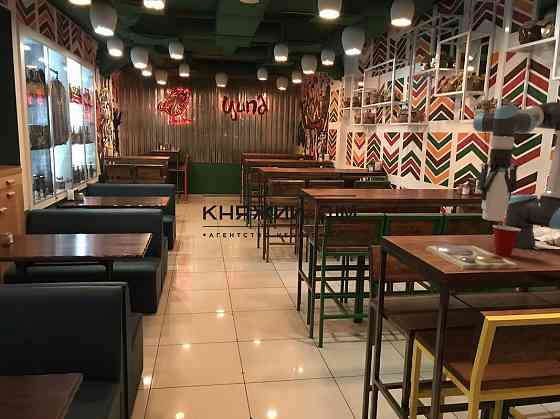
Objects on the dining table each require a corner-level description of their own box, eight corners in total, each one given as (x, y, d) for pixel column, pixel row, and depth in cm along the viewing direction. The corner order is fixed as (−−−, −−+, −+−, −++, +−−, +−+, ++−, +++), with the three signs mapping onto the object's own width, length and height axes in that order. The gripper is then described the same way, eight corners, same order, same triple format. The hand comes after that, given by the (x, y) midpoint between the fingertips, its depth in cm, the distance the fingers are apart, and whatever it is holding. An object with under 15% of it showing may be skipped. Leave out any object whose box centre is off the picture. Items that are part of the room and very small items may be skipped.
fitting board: (473, 249, 204) (473, 245, 204) (516, 268, 177) (517, 264, 177) (426, 249, 200) (426, 246, 200) (463, 268, 173) (463, 264, 173)
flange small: (470, 259, 182) (470, 257, 181) (478, 262, 177) (478, 260, 177) (458, 259, 181) (458, 257, 180) (465, 262, 176) (466, 260, 176)
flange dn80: (492, 255, 188) (492, 253, 188) (508, 262, 179) (509, 260, 178) (469, 255, 186) (469, 254, 186) (484, 263, 177) (485, 261, 177)
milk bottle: (505, 222, 175) (512, 168, 172) (483, 220, 178) (489, 167, 174) (502, 219, 183) (508, 167, 179) (480, 217, 185) (486, 165, 182)
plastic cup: (522, 255, 196) (526, 227, 194) (510, 259, 190) (513, 230, 188) (496, 250, 205) (500, 222, 203) (484, 253, 198) (487, 225, 196)
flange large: (460, 246, 202) (460, 244, 202) (479, 255, 188) (479, 253, 188) (429, 246, 199) (430, 244, 199) (447, 255, 186) (447, 253, 186)
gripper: (519, 148, 181) (512, 207, 185) (470, 146, 177) (464, 206, 181) (533, 149, 174) (525, 211, 178) (482, 147, 170) (475, 210, 174)
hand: (494, 208), depth 179 cm, fingers closed on milk bottle, 8 cm apart
